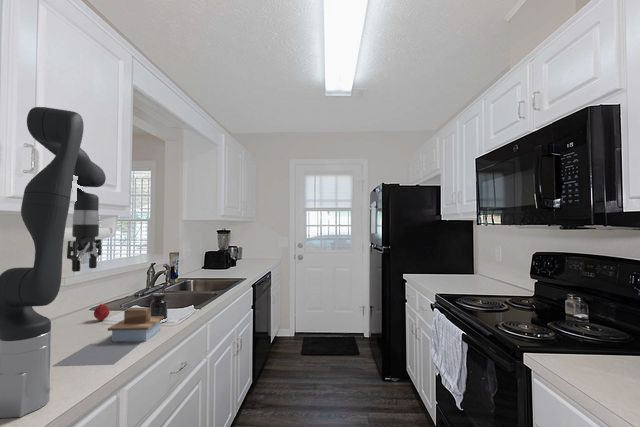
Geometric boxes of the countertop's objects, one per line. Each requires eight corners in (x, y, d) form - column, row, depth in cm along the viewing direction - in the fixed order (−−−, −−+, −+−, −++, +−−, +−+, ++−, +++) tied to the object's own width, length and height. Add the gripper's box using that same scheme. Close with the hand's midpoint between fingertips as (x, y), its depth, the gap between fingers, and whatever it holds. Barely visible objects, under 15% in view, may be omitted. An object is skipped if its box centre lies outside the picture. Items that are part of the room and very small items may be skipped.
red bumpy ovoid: (112, 319, 146) (112, 301, 146) (100, 323, 140) (101, 304, 140) (102, 318, 147) (102, 300, 147) (90, 322, 142) (90, 303, 142)
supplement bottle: (170, 319, 145) (170, 293, 145) (160, 324, 138) (160, 296, 139) (157, 319, 146) (157, 292, 147) (146, 323, 140) (146, 295, 140)
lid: (147, 329, 117) (147, 313, 117) (107, 330, 116) (107, 314, 116) (163, 318, 131) (163, 303, 131) (128, 318, 130) (128, 304, 130)
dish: (146, 342, 118) (146, 328, 118) (112, 343, 117) (112, 329, 117) (160, 331, 130) (160, 318, 130) (129, 332, 129) (129, 319, 129)
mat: (113, 366, 99) (113, 364, 99) (51, 367, 98) (51, 366, 98) (141, 343, 117) (141, 342, 117) (90, 345, 116) (90, 343, 116)
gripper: (83, 223, 106) (81, 272, 106) (109, 223, 121) (108, 267, 120) (59, 223, 106) (58, 272, 105) (88, 223, 120) (87, 267, 120)
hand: (84, 269), depth 113 cm, fingers open, 8 cm apart
